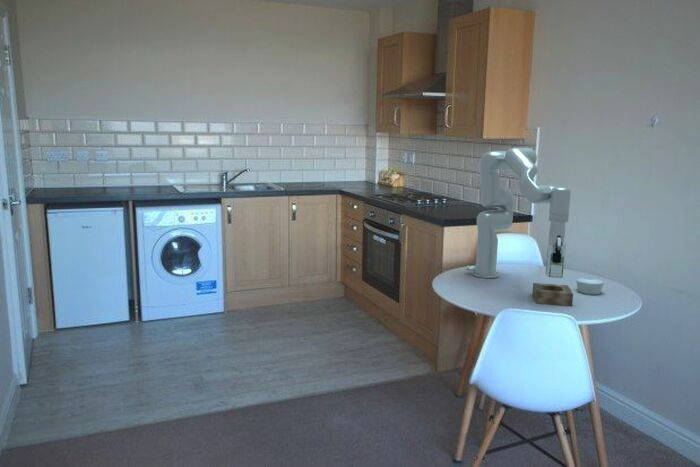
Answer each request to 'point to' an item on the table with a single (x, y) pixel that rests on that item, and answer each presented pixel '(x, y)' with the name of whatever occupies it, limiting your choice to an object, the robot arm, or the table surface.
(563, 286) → the socket block
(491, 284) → the table surface
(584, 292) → the ramekin
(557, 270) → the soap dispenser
